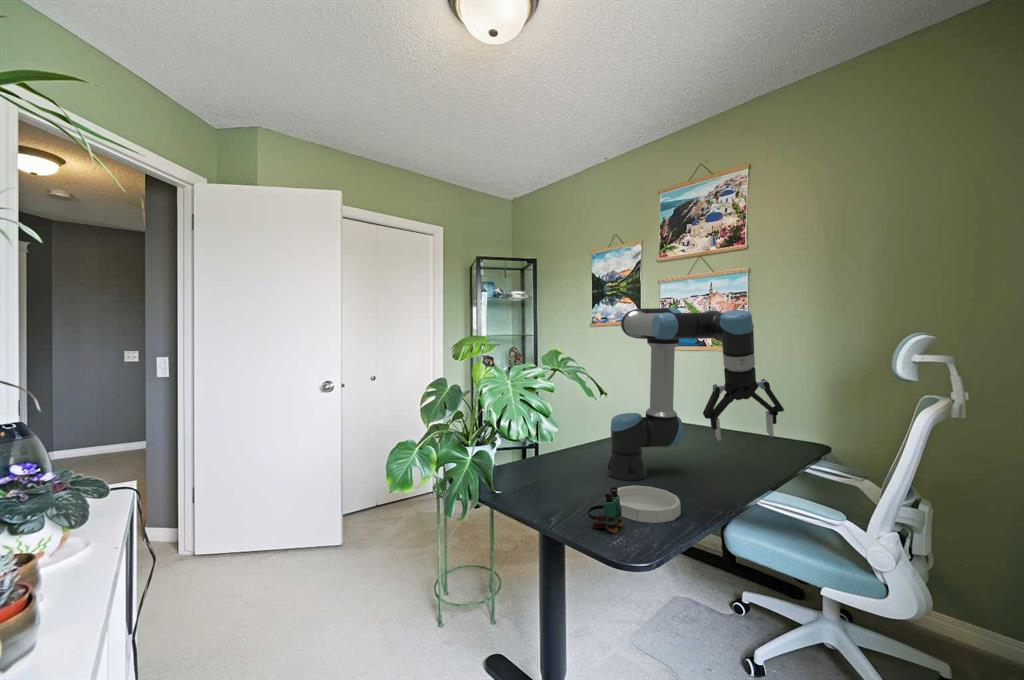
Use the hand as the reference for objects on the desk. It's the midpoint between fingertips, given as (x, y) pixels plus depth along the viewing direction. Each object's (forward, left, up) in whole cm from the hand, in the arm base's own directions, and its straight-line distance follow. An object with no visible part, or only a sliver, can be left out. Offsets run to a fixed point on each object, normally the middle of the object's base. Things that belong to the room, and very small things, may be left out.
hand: (743, 436), depth 120 cm
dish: (-26, -9, -25) cm, 37 cm away
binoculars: (-29, -28, -25) cm, 48 cm away
